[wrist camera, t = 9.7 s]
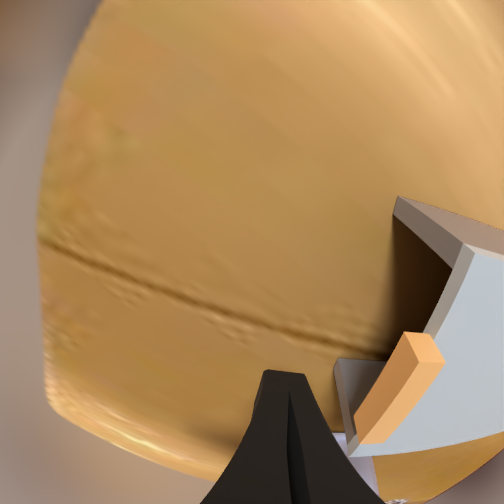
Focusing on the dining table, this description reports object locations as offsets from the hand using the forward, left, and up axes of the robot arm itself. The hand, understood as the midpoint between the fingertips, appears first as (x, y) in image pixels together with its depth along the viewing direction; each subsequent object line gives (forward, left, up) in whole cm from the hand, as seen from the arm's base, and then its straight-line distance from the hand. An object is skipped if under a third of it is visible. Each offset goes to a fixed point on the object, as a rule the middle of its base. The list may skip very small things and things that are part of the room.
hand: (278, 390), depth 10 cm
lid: (0, -12, -1) cm, 12 cm away
